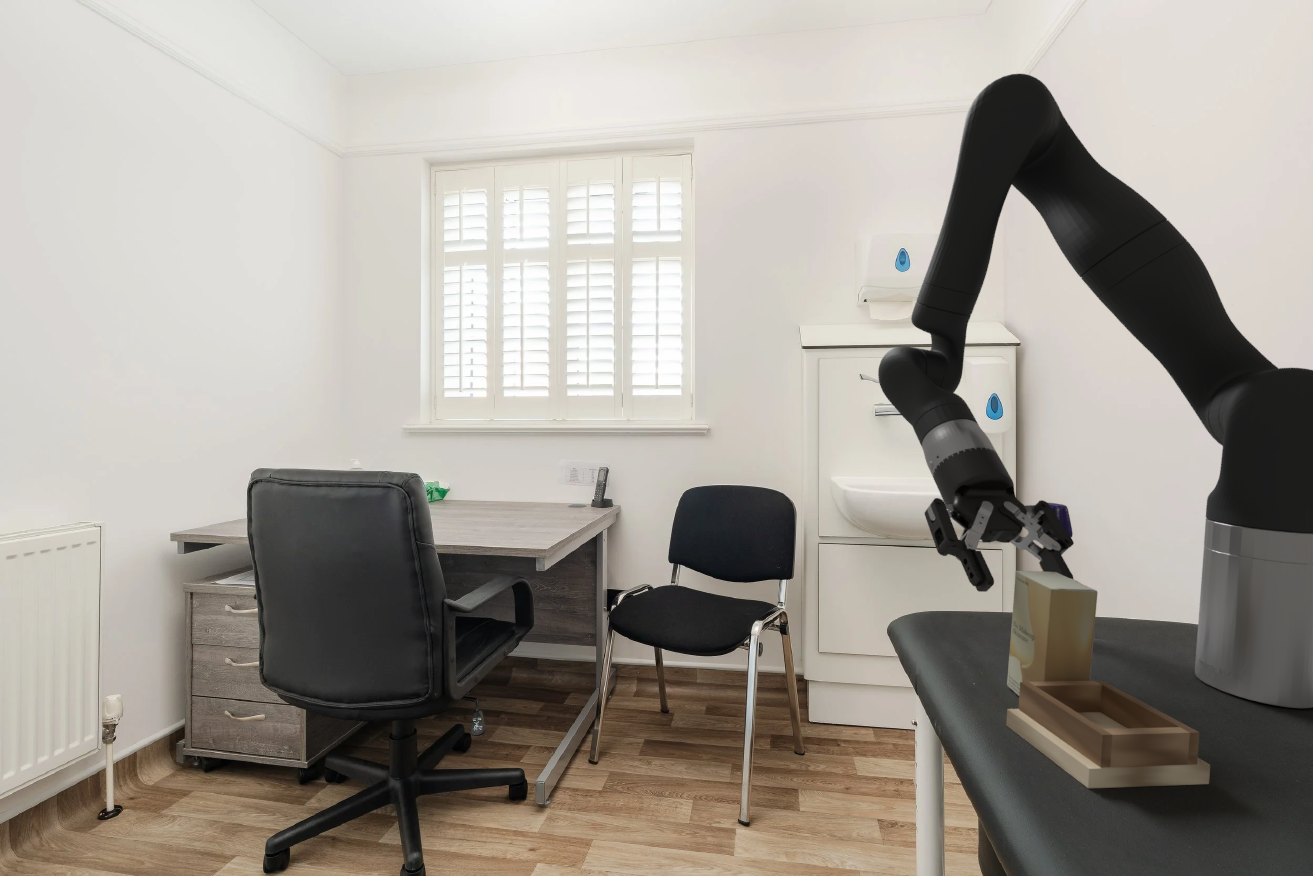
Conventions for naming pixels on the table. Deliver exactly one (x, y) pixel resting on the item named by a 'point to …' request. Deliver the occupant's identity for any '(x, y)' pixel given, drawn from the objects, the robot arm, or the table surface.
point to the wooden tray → (1106, 735)
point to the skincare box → (1050, 629)
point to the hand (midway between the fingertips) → (1026, 588)
